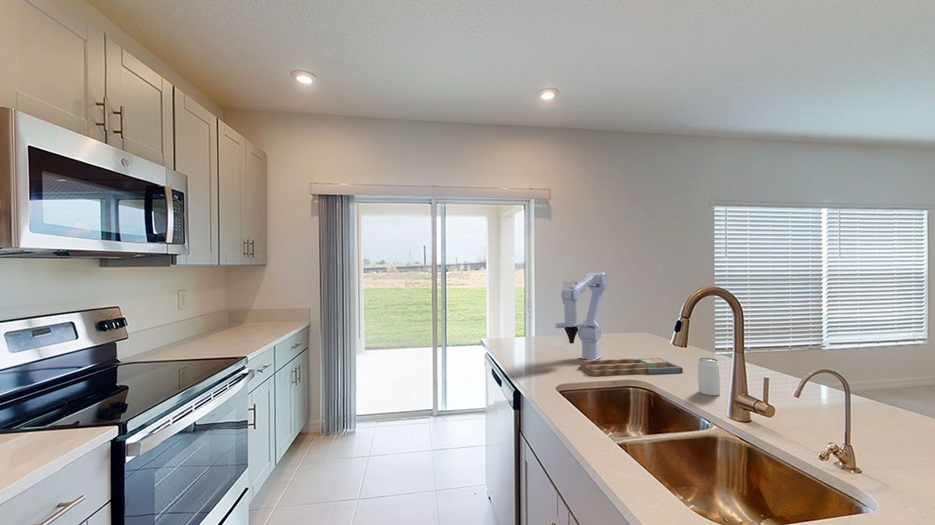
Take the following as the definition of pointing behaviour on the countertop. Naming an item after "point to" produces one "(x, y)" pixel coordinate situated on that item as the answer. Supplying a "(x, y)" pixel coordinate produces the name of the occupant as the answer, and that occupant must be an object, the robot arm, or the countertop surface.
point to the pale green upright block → (649, 363)
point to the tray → (669, 369)
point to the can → (708, 376)
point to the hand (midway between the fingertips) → (571, 343)
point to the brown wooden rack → (613, 367)
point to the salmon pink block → (660, 363)
